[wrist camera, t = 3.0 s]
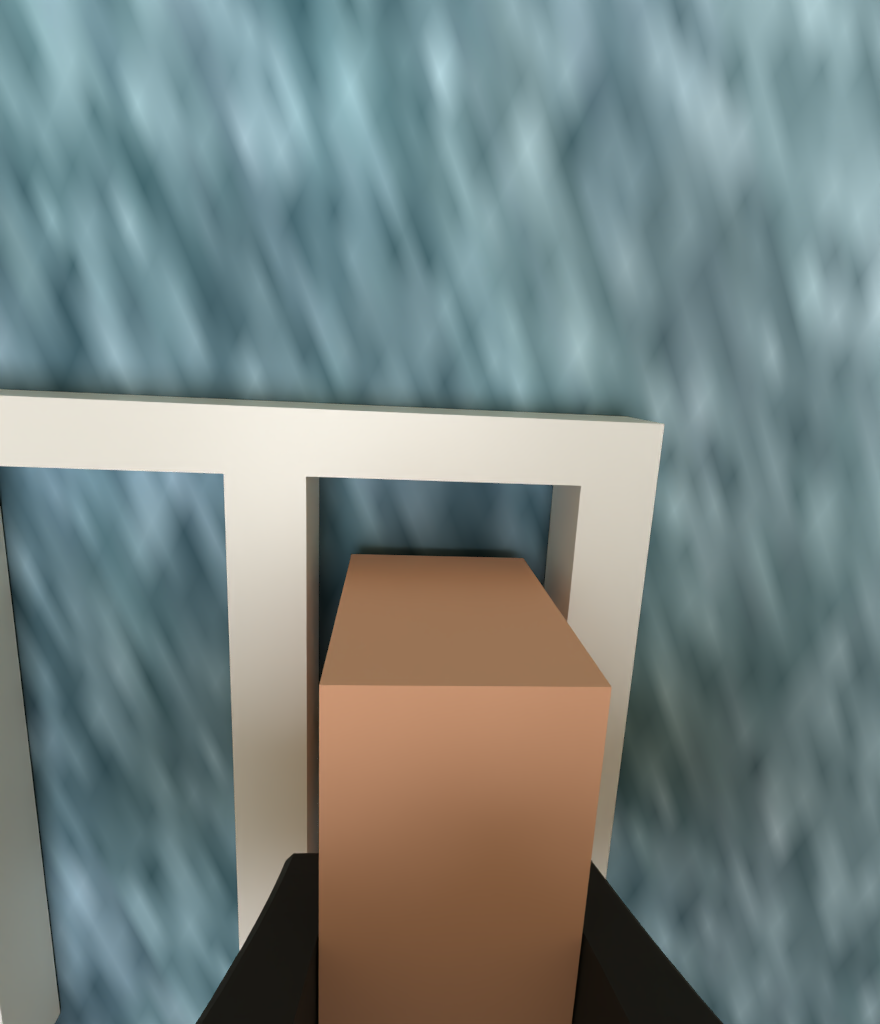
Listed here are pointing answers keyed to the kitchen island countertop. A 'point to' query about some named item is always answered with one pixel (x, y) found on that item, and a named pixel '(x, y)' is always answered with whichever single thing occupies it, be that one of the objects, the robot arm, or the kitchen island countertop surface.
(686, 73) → the kitchen island countertop surface
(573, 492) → the comb organizer
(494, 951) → the tall peach block
